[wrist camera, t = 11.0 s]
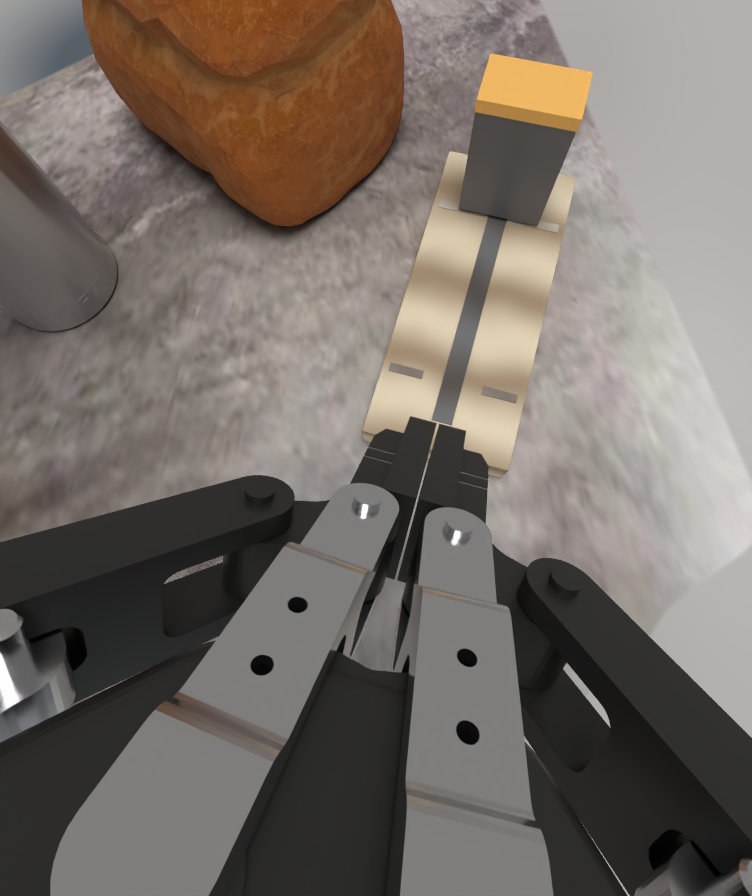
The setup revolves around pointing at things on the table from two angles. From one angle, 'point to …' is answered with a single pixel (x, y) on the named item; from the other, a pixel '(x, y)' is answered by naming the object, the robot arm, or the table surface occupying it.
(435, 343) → the grooved wooden slider track
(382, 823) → the robot arm
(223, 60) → the bread
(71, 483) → the table surface
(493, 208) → the fader knob
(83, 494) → the table surface
